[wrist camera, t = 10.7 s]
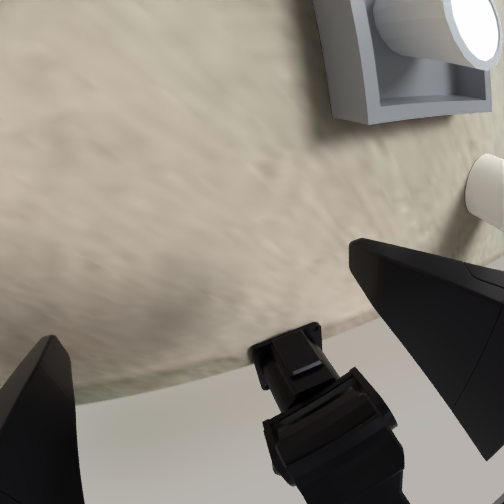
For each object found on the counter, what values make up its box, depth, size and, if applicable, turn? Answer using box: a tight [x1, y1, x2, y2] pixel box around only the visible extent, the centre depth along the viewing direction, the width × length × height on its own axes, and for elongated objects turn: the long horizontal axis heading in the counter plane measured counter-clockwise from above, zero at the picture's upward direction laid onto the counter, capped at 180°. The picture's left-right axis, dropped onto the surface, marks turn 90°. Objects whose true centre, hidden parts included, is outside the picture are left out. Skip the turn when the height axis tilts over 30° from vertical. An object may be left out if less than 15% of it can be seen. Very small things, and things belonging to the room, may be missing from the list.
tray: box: [312, 0, 492, 125], centre depth 16 cm, size 14×14×4 cm
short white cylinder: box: [373, 0, 503, 71], centre depth 14 cm, size 7×7×7 cm
